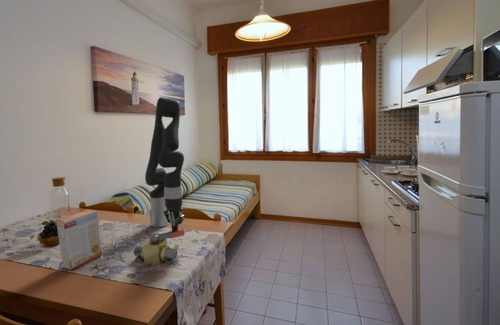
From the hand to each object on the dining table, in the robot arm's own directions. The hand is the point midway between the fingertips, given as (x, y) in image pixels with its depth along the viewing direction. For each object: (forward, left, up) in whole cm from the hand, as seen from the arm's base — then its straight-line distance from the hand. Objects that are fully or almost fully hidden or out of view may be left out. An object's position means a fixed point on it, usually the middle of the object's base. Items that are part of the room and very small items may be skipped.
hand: (175, 232), depth 120 cm
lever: (-1, -5, -1) cm, 5 cm away
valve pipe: (-5, -8, -9) cm, 13 cm away
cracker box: (-36, -14, -9) cm, 40 cm away
